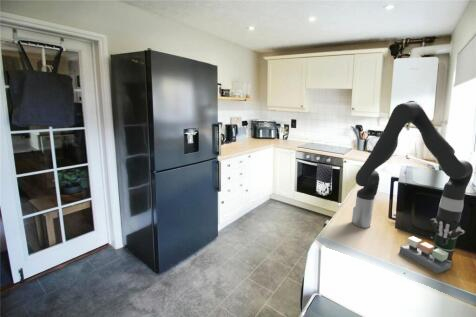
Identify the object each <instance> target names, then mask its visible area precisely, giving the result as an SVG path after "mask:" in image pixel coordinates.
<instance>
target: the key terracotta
mask: <svg viewBox="0 0 476 317" xmlns="http://www.w3.org/2000/svg"><path fill="white" fill-rule="evenodd" d="M434 247H435V246H433V244H431V243H428V242H426V241H424V242H422V243H421V244H420V247H419V250H421V251H423V252H425V253H426V254H430V253H432V252H433V250H434Z"/></svg>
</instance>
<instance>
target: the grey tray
mask: <svg viewBox="0 0 476 317" xmlns="http://www.w3.org/2000/svg"><path fill="white" fill-rule="evenodd" d="M419 247H420V246H419ZM419 247H417V248H415V247H413V246H411V245H409V244H407V245H400V246H399V253H401V254H402V255H404V256H406V257H408V258H409V259H412V260H413V261H415V262H416V263H418V264H420V265H421V266H423V267H425V268H426V269H430V270H431V271H433V272H435V273H436V274H440V273H443V272H445V271H446V270H449V269H451V268H452V267H451V265H452V260H450V259H446V260H444V261H440V260H438V259H436V258H434V257H432V253H430V254H426V253H425V252H423V251H421V250H419Z"/></svg>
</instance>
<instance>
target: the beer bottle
mask: <svg viewBox="0 0 476 317" xmlns="http://www.w3.org/2000/svg"><path fill="white" fill-rule="evenodd" d="M456 230H457V229H455V230H453V231H452V233H451V234H450V235H452V234H454V233H456ZM457 239H458V236H457V237H455V238H452V239H448V243H447V244H446V245H441V244H439V241H438V240H439V234H438V233H436V232H435V234H434V240H433V244H432V245H433V246H435V247H434V250H435V249H437V248H439V249H441V250H443V251H445V252H447V253H448V257H447V260H450V259H452V258H453V256H454V252H455V248H456V243H457Z"/></svg>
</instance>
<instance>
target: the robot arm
mask: <svg viewBox="0 0 476 317" xmlns="http://www.w3.org/2000/svg"><path fill="white" fill-rule="evenodd" d="M432 122H433V121H431V120H430V118H429V117H428V115H427V113H426V111H425V110H424V109H423V106H421V104H420V103H417V102H415V101H411V102H410V101H409V102H402V103H400V104H397V105H396V106H395V107H394V108H393V110H392V111H391V113H390V116H389V118H388V121H387V123H386V125H385V127H384V129H383V131H382V133H381V135H380V136H379V138H378V139H377V141H376V143H375V145H374V146H373V148H372V150H371V152H370V154H369V155H368V157H367V158H366V160H365V162H364V163H363V164H362V165H361V167H360V169H359V170H358V171H357V173H356V176H355V183H356V184H357V185H358V186H359V187H361V188H360V189H359V190H357V191H356V198H355V206H354V207H353V210H352V216H351V223H353V225H355V226H356V227H358V228H361V229H363V228H364V229H368V228H370V227H371V223H372V216H373V211H374V210H373V209H374V205H375V197H376V195H377V194H378V189H379V185H380V174H379V172H378V171H377V170H376V169H378V168H379V167H380V166H382V165H384V164H385V163H386V162H388V161H389V160H390V158H392V156H393V154H394V153H395V152H396V150H397V148H398V144H399V143H398V142H399V136H400V134H401V132H402V130H403V129H404V128H405V126H406V125H407V124H410V123H411V124H412V125H413V126H415V127H416V128H417V130H418V132H420V135H421V138H422V141H423V144H424V146H425V147H426V149H427V150H428V151H429V152H430V153H431V155H432V156H433V157H434V158H435V159H436V160H437V163H438V165H439V166H440V168H441V170H442V172H443V173H444V174H445V175H446V176H447V177H449V179H448V181H447V182H446V183H445V184H444V186H443V190H442V195H441V198H440V202H439V204H438V211H437V215H436V216H435V218H431V219H429V224H431V227H432V228H433V231H434V233H435V234H436V233H438V234H439V240H438V241H439V244H441V245H446V244H447V243H448V239H452V238H455V237H457V238H458V237H459V236H461V235H463V234H465V233H466V230H464V229H462V227H461V224H460V221H461V218H462V213H463V210H464V202H465V201H464V200H465V196H466V192H467V188H468V185H469V183H470V181H471V179H472V177H473V173H474V168H473V165H472V164H471V163H470V162H469V161H468V160H464V159H462V160H461V159H460V160H459V159H458V157H457V156H456V154H455V153H456V151H455V149H454V147H453V146H452V145H451V144H450V143H449V142H448V141H447V140H446V139H445V138H444V137H443V135H442V134H441V133H440V132H439V131H438V130H437V127H435V125H434V124H433V123H432ZM455 229H457V230H456V233H454V234H452V235H450V234H451V233H452V231H453V230H455Z"/></svg>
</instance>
